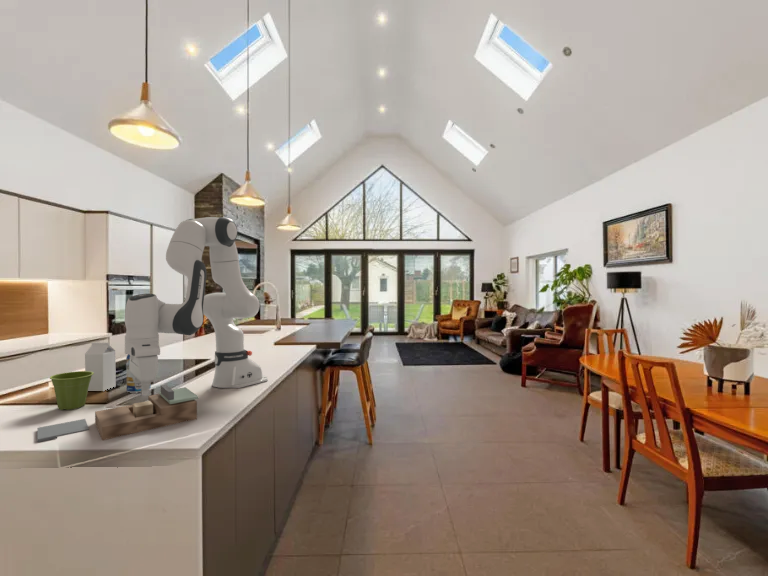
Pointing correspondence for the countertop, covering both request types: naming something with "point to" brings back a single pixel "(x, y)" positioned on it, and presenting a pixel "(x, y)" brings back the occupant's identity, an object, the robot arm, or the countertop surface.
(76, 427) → the rubber pad
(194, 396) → the sliding lid
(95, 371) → the milk carton
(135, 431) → the puzzle board
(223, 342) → the robot arm
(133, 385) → the beverage bottle
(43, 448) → the countertop surface
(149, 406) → the maple block
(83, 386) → the plant pot
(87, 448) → the countertop surface
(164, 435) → the countertop surface
